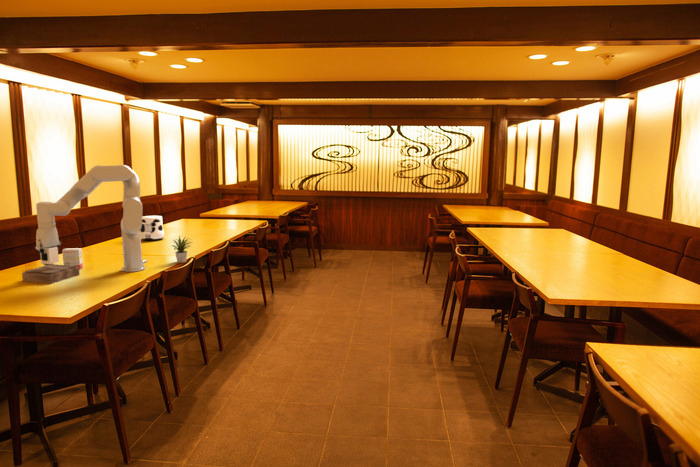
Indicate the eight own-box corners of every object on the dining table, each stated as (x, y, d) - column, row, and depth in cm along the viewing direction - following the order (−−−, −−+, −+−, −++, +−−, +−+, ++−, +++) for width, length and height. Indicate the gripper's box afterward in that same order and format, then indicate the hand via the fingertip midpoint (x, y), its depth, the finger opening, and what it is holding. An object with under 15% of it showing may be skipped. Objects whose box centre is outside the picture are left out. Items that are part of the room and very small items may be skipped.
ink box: (83, 267, 266) (81, 247, 264) (80, 269, 262) (78, 249, 260) (67, 267, 265) (65, 248, 263) (63, 269, 260) (61, 249, 258)
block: (50, 261, 245) (48, 246, 243) (58, 261, 244) (57, 247, 242) (41, 263, 239) (39, 248, 238) (50, 264, 238) (48, 249, 237)
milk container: (160, 237, 368) (159, 214, 365) (167, 240, 355) (166, 217, 352) (137, 239, 357) (136, 216, 354) (144, 242, 344) (143, 218, 341)
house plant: (185, 265, 274) (183, 238, 272) (164, 264, 277) (163, 237, 274) (197, 260, 288) (196, 234, 285) (177, 259, 291) (176, 233, 288)
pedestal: (51, 272, 253) (51, 263, 253) (79, 274, 250) (78, 265, 249) (22, 281, 236) (21, 271, 235) (52, 283, 232) (51, 273, 232)
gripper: (54, 223, 247) (57, 255, 250) (26, 227, 231) (29, 262, 234) (66, 223, 246) (68, 256, 249) (38, 228, 229) (41, 263, 232)
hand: (49, 258), depth 241 cm, fingers closed on block, 5 cm apart
